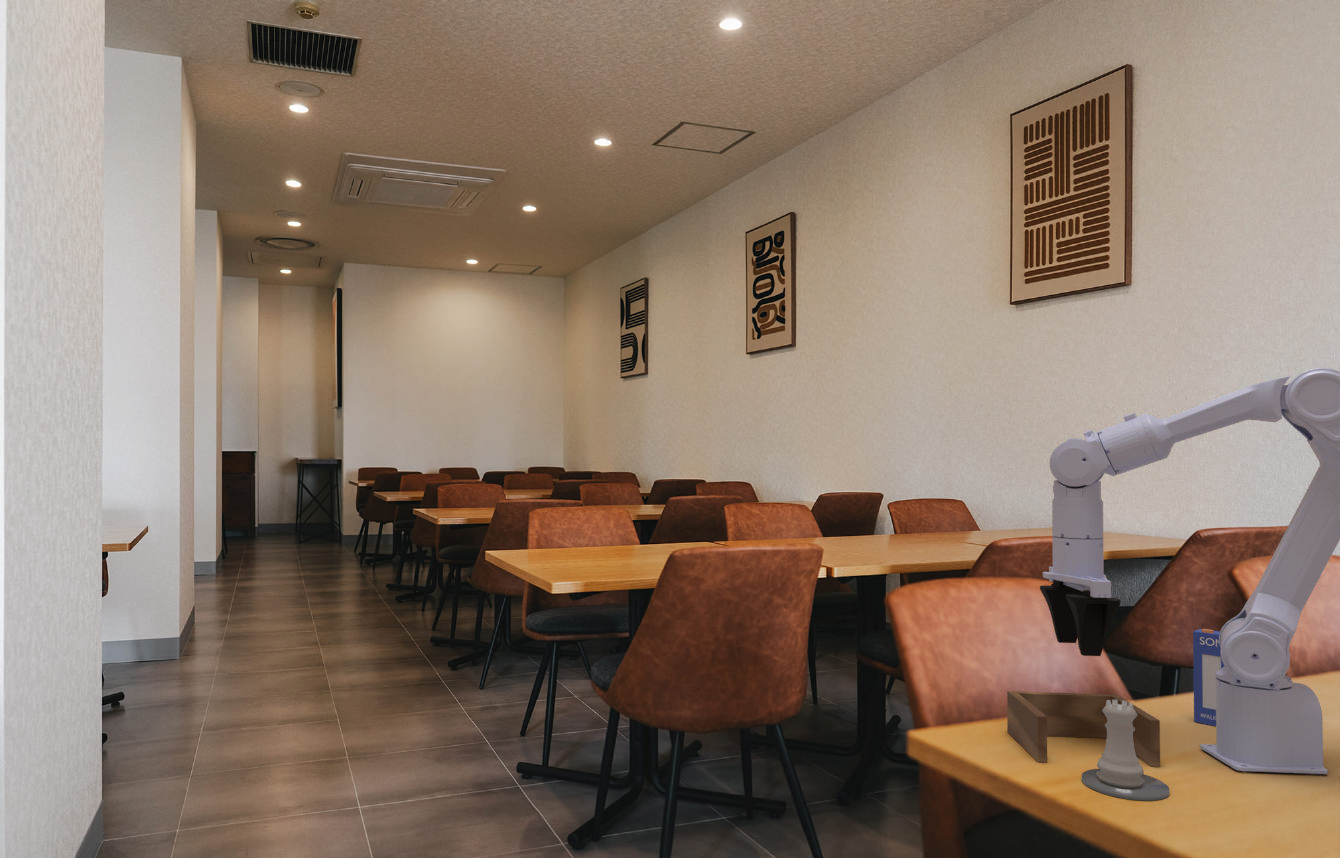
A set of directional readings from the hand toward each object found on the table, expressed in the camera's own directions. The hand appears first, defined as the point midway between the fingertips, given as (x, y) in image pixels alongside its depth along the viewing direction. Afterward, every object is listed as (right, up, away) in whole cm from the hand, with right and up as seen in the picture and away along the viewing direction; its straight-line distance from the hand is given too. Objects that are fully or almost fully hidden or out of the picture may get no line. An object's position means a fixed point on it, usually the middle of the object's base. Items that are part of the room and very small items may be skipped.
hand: (1078, 648), depth 108 cm
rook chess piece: (-4, -9, -18) cm, 20 cm away
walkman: (+21, -11, +4) cm, 24 cm away
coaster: (-3, -10, -18) cm, 20 cm away
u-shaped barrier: (-3, -10, -6) cm, 12 cm away
